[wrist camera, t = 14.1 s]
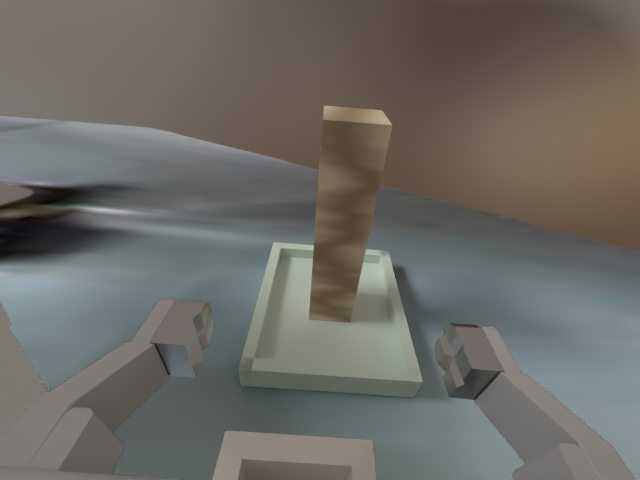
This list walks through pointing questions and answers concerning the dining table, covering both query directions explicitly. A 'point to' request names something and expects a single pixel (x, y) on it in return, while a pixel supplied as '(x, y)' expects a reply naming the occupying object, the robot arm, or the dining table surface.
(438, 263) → the dining table surface
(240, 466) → the white square container
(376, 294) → the tray
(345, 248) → the tan wooden block
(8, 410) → the foam cup
